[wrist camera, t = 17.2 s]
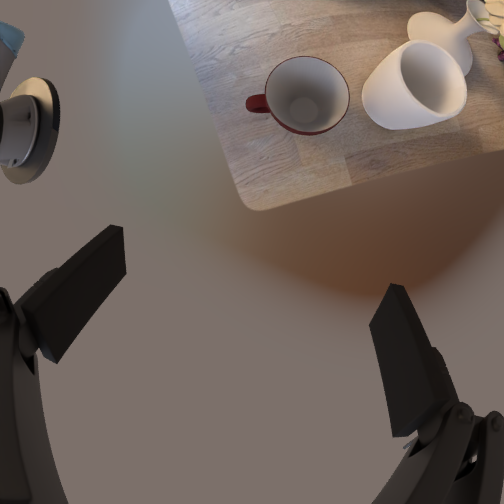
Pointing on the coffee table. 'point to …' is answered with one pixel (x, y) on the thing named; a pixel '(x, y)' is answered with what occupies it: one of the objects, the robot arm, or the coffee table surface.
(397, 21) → the coffee table surface
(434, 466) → the robot arm
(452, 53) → the flower in vase
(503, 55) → the flower
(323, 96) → the mug
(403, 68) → the cup
